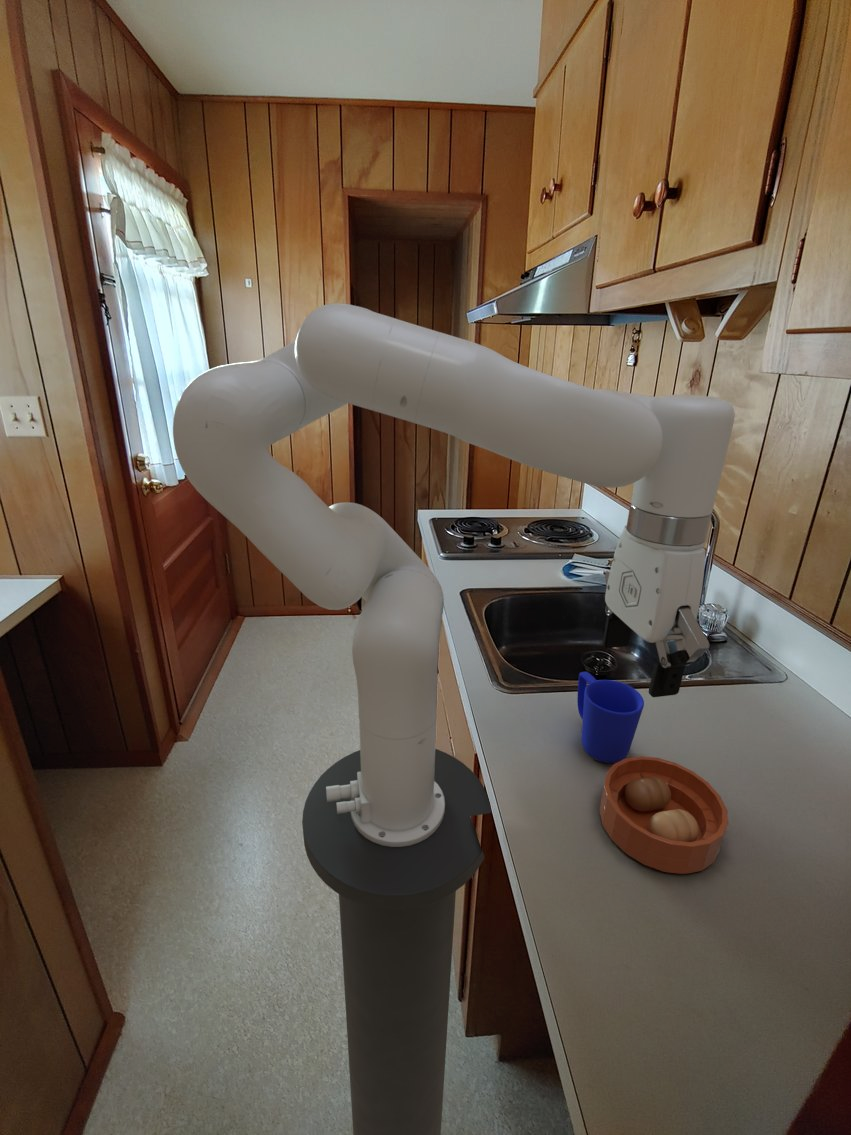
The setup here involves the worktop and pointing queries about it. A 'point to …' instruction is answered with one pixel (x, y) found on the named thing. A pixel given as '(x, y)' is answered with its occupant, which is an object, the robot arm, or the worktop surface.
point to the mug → (608, 717)
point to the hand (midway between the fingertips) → (637, 668)
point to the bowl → (685, 795)
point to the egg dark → (647, 794)
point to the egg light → (674, 825)
